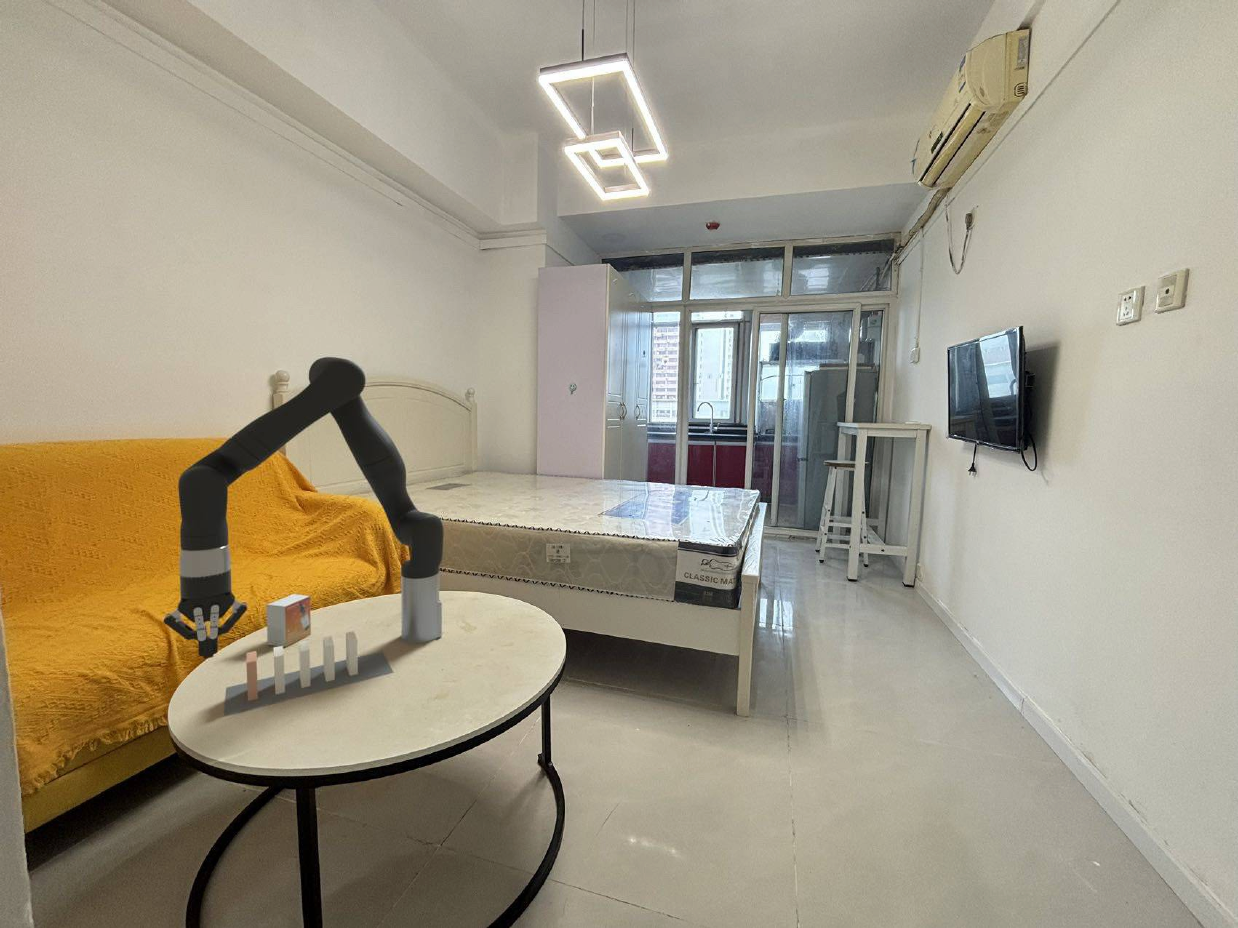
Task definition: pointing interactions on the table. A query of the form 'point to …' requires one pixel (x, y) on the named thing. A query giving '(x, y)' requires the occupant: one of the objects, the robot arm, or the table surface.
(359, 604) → the table surface
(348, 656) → the domino
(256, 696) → the domino
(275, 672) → the domino
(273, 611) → the small box
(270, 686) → the mat
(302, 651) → the domino
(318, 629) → the table surface
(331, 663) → the domino
